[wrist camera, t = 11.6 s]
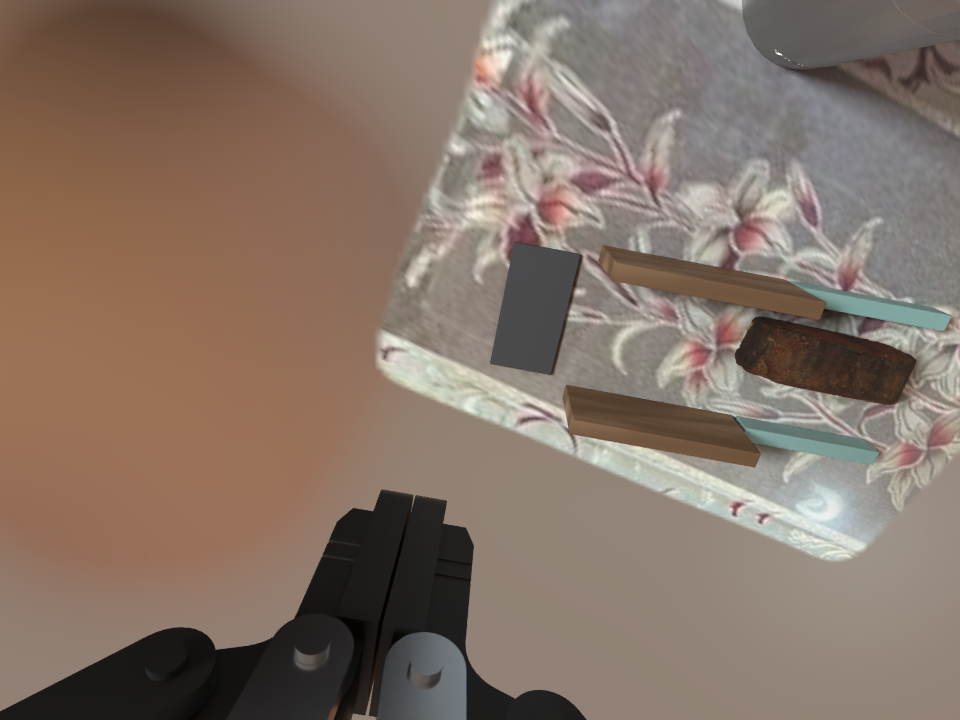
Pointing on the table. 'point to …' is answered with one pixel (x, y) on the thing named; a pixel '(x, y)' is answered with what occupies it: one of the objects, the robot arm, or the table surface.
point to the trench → (667, 421)
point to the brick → (824, 361)
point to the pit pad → (534, 307)
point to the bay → (826, 441)
